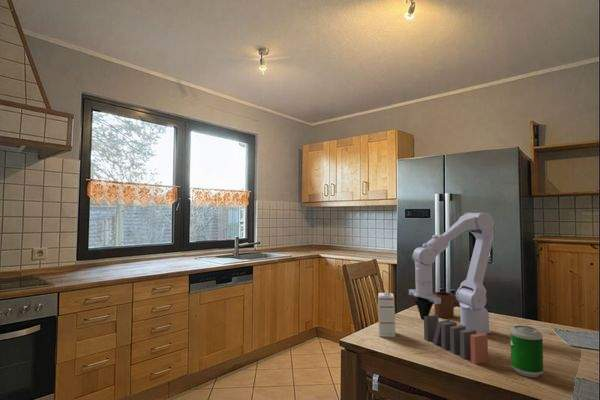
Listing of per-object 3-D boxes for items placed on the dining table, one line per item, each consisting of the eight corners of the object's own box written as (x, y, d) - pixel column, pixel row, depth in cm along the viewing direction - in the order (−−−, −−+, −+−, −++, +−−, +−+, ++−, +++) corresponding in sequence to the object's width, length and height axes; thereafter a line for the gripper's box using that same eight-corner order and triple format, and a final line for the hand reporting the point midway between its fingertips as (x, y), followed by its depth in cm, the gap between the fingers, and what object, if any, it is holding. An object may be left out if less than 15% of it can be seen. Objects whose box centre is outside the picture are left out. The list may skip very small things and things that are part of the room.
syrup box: (395, 337, 126) (395, 296, 126) (378, 336, 127) (378, 295, 127) (394, 332, 131) (394, 292, 132) (378, 331, 133) (377, 292, 133)
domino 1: (435, 337, 126) (435, 314, 126) (438, 338, 124) (438, 315, 125) (424, 339, 124) (423, 316, 124) (427, 341, 122) (427, 317, 123)
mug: (458, 313, 154) (458, 291, 154) (467, 318, 147) (467, 295, 147) (431, 313, 154) (431, 291, 154) (439, 319, 146) (438, 296, 146)
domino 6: (483, 359, 107) (482, 332, 107) (487, 361, 106) (487, 334, 106) (470, 362, 105) (470, 335, 106) (475, 364, 104) (474, 337, 104)
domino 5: (472, 354, 111) (471, 328, 111) (476, 356, 109) (476, 330, 110) (460, 357, 109) (459, 330, 109) (464, 359, 108) (463, 332, 108)
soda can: (550, 376, 96) (548, 331, 97) (529, 380, 94) (528, 335, 94) (524, 364, 103) (523, 323, 104) (504, 368, 101) (503, 326, 101)
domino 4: (462, 349, 115) (461, 324, 115) (466, 351, 113) (465, 326, 113) (450, 352, 113) (449, 326, 113) (454, 354, 111) (453, 328, 112)
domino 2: (444, 339, 122) (449, 319, 120) (447, 342, 121) (452, 322, 118) (432, 342, 120) (437, 321, 118) (435, 345, 119) (441, 324, 117)
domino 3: (452, 345, 118) (452, 321, 118) (456, 347, 117) (456, 322, 117) (441, 347, 117) (441, 323, 117) (444, 349, 115) (444, 324, 115)
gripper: (401, 278, 133) (402, 315, 133) (429, 286, 120) (429, 326, 119) (417, 276, 136) (417, 312, 135) (445, 284, 122) (446, 324, 122)
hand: (424, 319), depth 128 cm, fingers closed
